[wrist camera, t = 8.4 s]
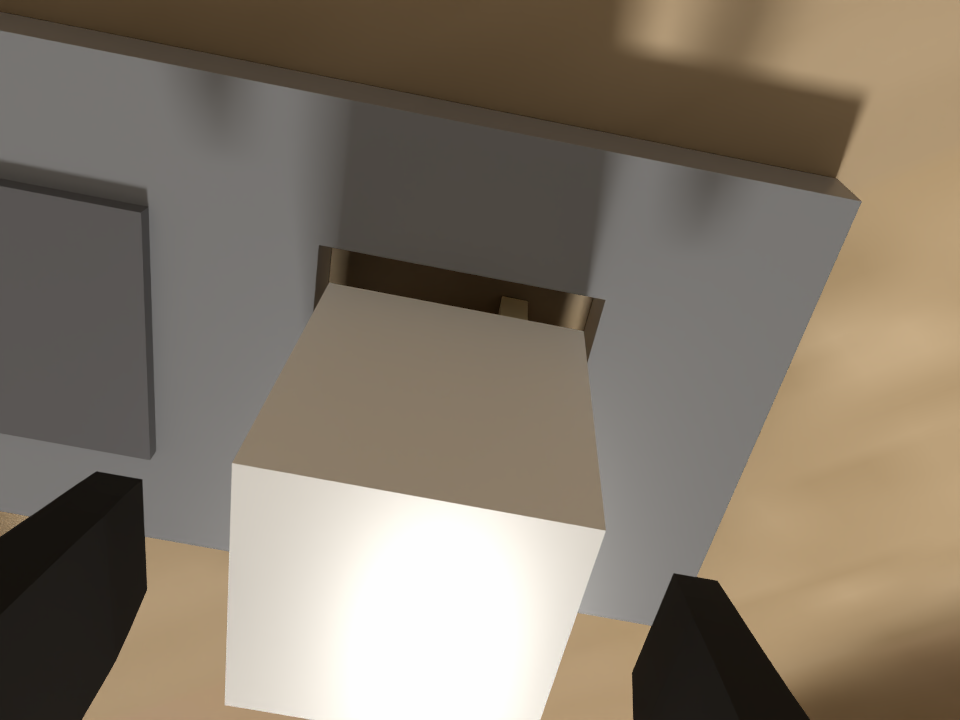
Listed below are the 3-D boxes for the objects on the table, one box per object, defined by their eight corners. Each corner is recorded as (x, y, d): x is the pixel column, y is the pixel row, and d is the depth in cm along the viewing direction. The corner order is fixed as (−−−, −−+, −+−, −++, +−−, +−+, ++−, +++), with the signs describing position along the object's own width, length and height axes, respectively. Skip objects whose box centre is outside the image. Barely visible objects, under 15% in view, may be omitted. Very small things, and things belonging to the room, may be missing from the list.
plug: (530, 472, 17) (527, 755, 12) (328, 435, 17) (225, 704, 11) (579, 291, 15) (605, 530, 9) (348, 247, 15) (231, 462, 9)
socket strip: (665, 588, 19) (678, 654, 17) (-201, 435, 18) (-275, 488, 16) (836, 178, 14) (877, 216, 12) (-354, -59, 13) (-484, -53, 11)
